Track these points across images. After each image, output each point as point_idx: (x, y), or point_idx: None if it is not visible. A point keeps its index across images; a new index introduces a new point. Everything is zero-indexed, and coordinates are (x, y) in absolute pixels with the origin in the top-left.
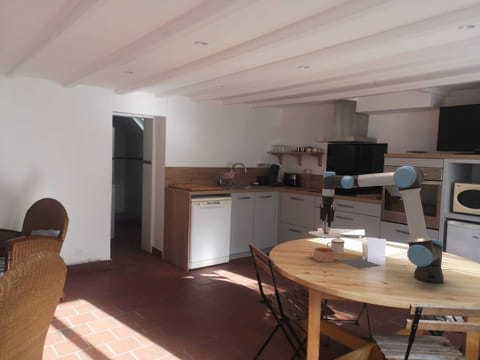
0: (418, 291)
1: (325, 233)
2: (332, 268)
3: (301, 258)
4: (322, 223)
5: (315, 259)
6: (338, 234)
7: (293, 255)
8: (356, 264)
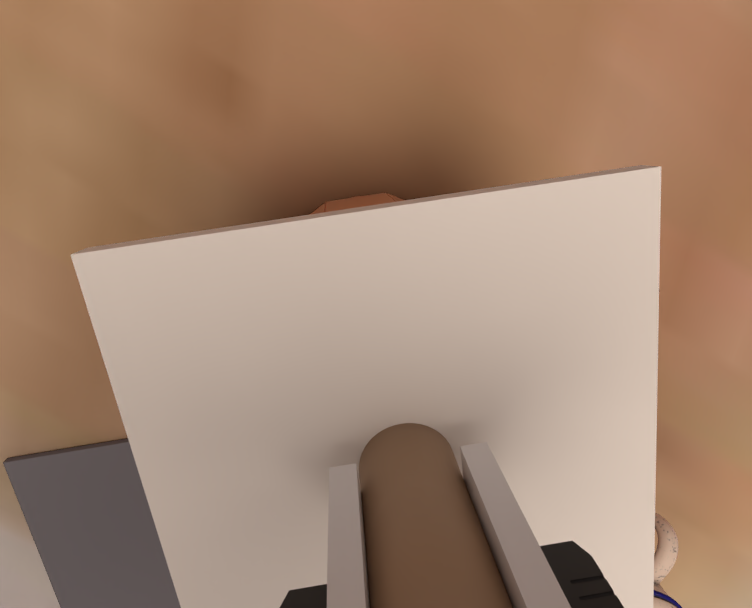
0: None
1: (373, 447)
2: (55, 220)
3: (474, 69)
4: (596, 590)
5: (365, 195)
6: None
7: (614, 35)
8: (146, 513)
